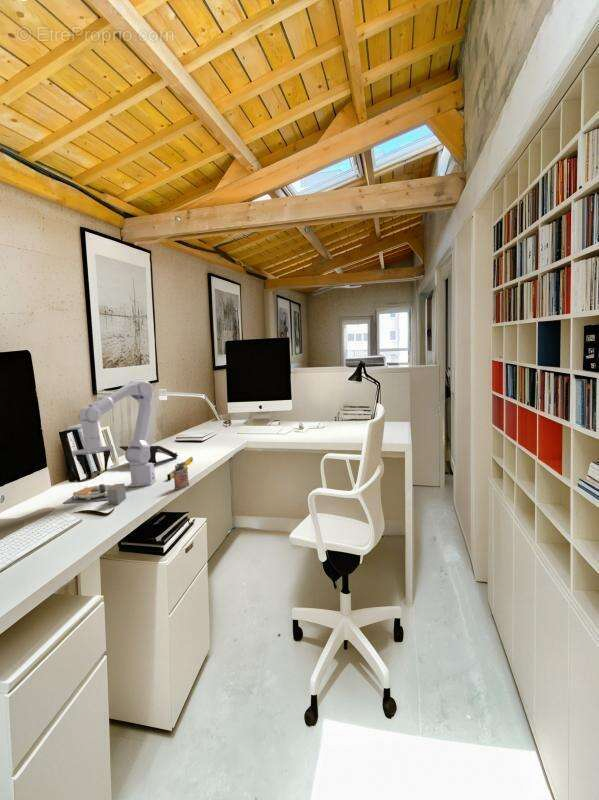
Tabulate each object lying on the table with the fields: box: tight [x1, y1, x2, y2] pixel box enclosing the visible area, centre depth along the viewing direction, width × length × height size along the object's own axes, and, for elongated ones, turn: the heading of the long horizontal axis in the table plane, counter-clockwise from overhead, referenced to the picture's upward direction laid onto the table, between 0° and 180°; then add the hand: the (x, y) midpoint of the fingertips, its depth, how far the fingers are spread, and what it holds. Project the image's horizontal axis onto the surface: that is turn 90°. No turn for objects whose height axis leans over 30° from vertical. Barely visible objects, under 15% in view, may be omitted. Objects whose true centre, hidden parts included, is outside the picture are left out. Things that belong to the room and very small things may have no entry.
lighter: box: [172, 461, 190, 491], centre depth 186 cm, size 8×3×10 cm, turn 160°
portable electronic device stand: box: [119, 445, 179, 463], centre depth 237 cm, size 23×23×9 cm
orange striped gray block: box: [107, 483, 127, 507], centre depth 172 cm, size 4×8×6 cm, turn 1°
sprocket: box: [72, 483, 115, 500], centre depth 183 cm, size 17×17×4 cm
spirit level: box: [166, 456, 194, 481], centre depth 215 cm, size 33×1×3 cm, turn 177°
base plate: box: [62, 485, 128, 505], centre depth 184 cm, size 18×18×1 cm
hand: (95, 471), depth 178 cm, fingers open, 7 cm apart
